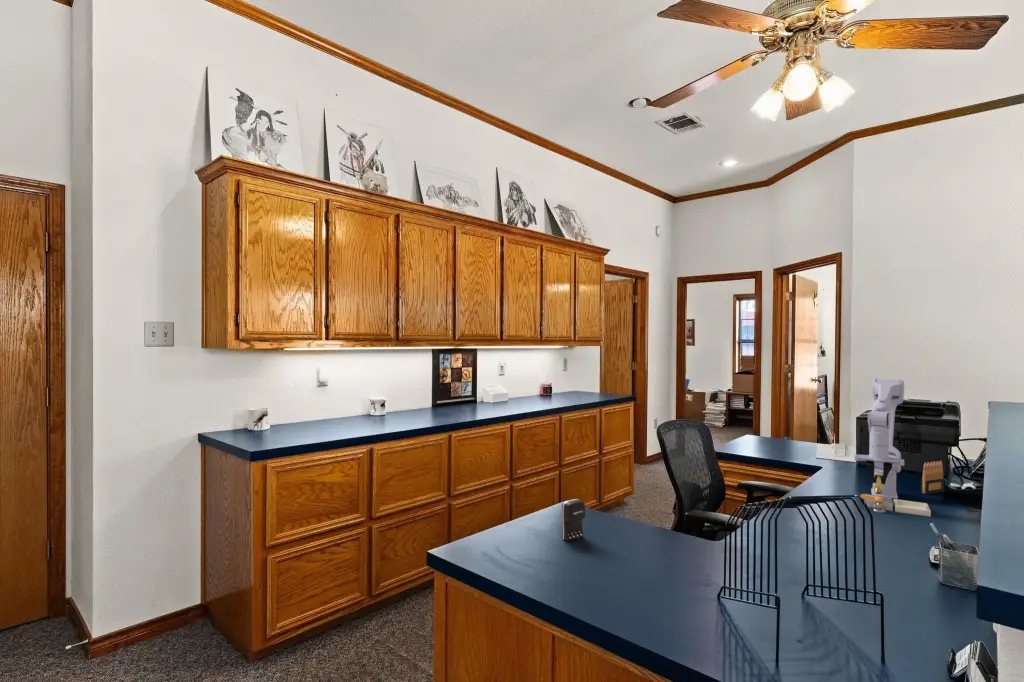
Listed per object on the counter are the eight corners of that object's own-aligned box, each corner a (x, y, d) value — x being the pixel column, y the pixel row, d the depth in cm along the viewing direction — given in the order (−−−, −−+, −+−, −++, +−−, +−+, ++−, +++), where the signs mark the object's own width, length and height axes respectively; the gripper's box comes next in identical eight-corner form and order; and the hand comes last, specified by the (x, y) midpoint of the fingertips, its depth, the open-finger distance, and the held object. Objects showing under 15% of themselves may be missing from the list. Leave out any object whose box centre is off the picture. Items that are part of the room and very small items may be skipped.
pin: (874, 492, 194) (874, 473, 193) (882, 493, 192) (882, 474, 192) (874, 493, 192) (874, 475, 191) (882, 494, 190) (883, 476, 190)
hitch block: (864, 500, 198) (864, 491, 197) (891, 504, 193) (891, 495, 193) (865, 510, 187) (865, 501, 187) (893, 514, 182) (893, 505, 182)
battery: (569, 543, 158) (569, 504, 158) (561, 539, 161) (561, 501, 161) (587, 538, 162) (587, 500, 161) (579, 534, 165) (579, 497, 165)
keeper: (884, 501, 186) (884, 497, 186) (882, 502, 184) (882, 499, 184) (862, 496, 191) (862, 493, 191) (860, 498, 189) (860, 495, 189)
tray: (893, 504, 194) (893, 499, 194) (927, 508, 189) (927, 503, 188) (895, 511, 185) (895, 506, 185) (930, 516, 180) (930, 511, 180)
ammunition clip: (925, 494, 205) (926, 463, 205) (920, 493, 207) (921, 461, 206) (944, 491, 209) (945, 460, 208) (939, 490, 210) (939, 459, 210)
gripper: (855, 444, 192) (854, 482, 192) (905, 449, 184) (904, 489, 185) (854, 441, 198) (854, 477, 198) (903, 445, 190) (903, 483, 191)
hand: (878, 483), depth 192 cm, fingers closed on pin, 2 cm apart
